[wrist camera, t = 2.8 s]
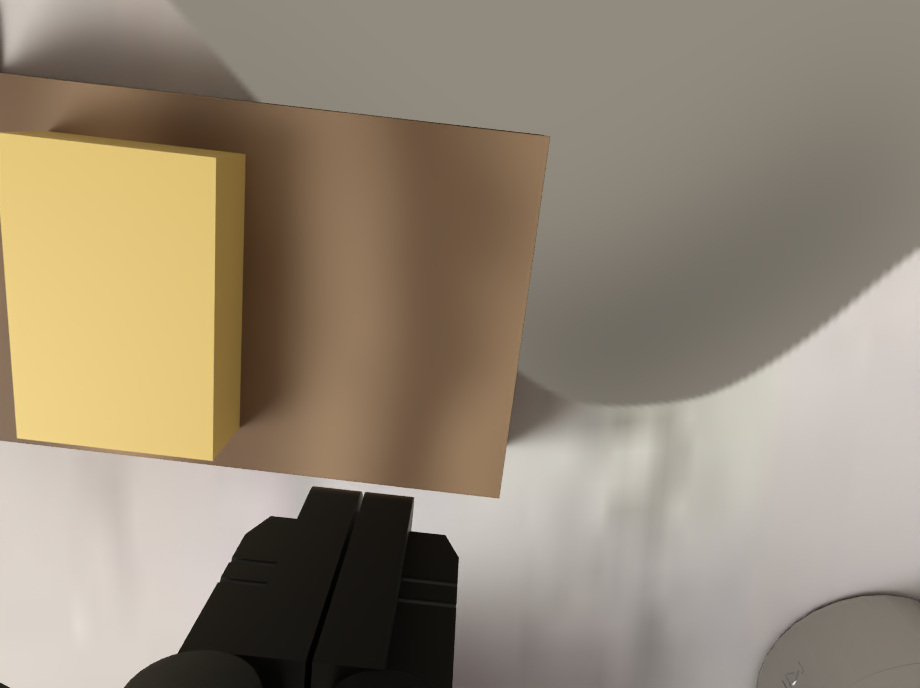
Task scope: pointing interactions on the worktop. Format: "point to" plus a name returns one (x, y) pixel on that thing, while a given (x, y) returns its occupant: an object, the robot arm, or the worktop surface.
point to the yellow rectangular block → (123, 291)
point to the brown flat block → (346, 279)
